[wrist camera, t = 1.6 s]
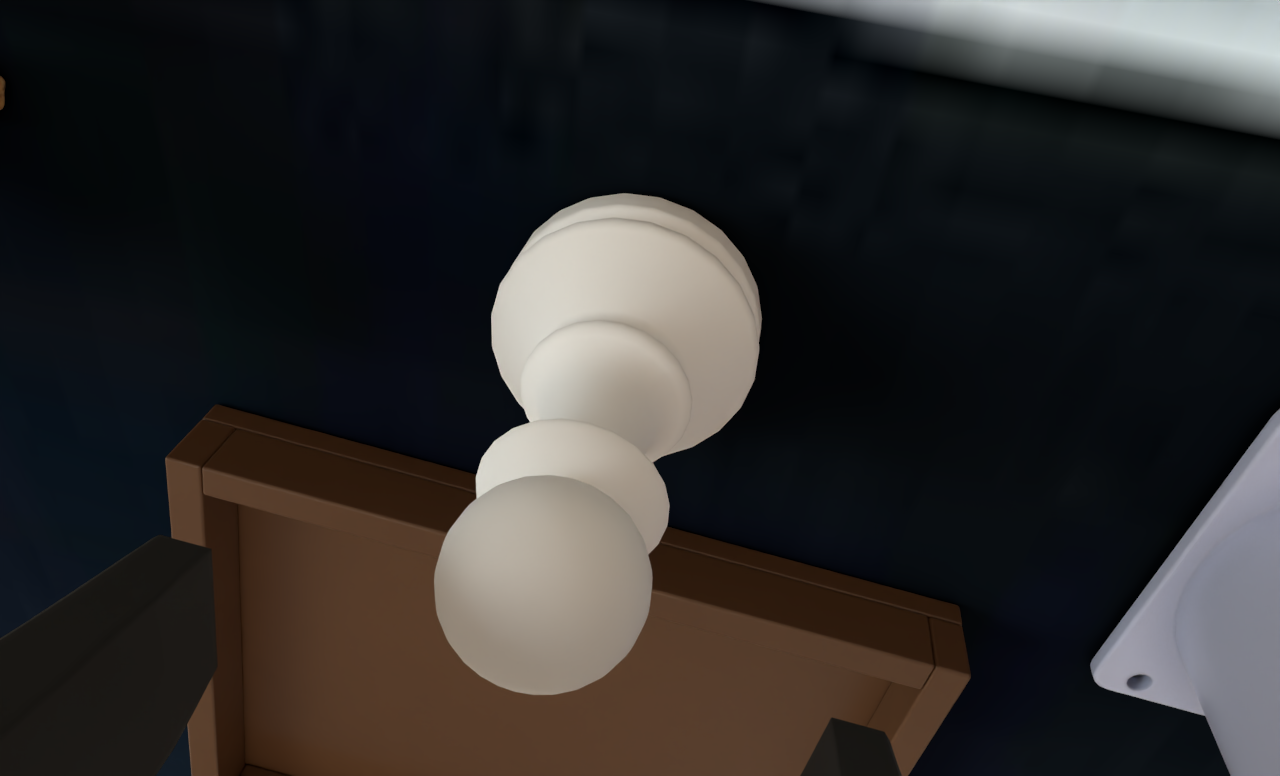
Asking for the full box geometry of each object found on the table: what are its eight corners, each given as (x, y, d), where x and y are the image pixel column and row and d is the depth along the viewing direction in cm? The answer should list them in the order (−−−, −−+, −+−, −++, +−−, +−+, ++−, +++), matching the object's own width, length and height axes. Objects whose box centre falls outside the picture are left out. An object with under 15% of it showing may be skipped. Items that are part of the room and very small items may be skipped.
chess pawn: (621, 132, 17) (469, 414, 9) (817, 312, 18) (822, 686, 11) (462, 308, 19) (242, 642, 12) (645, 455, 21) (551, 840, 13)
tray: (959, 604, 22) (972, 677, 20) (782, 904, 29) (780, 976, 27) (215, 402, 22) (163, 457, 20) (231, 754, 29) (193, 816, 27)
